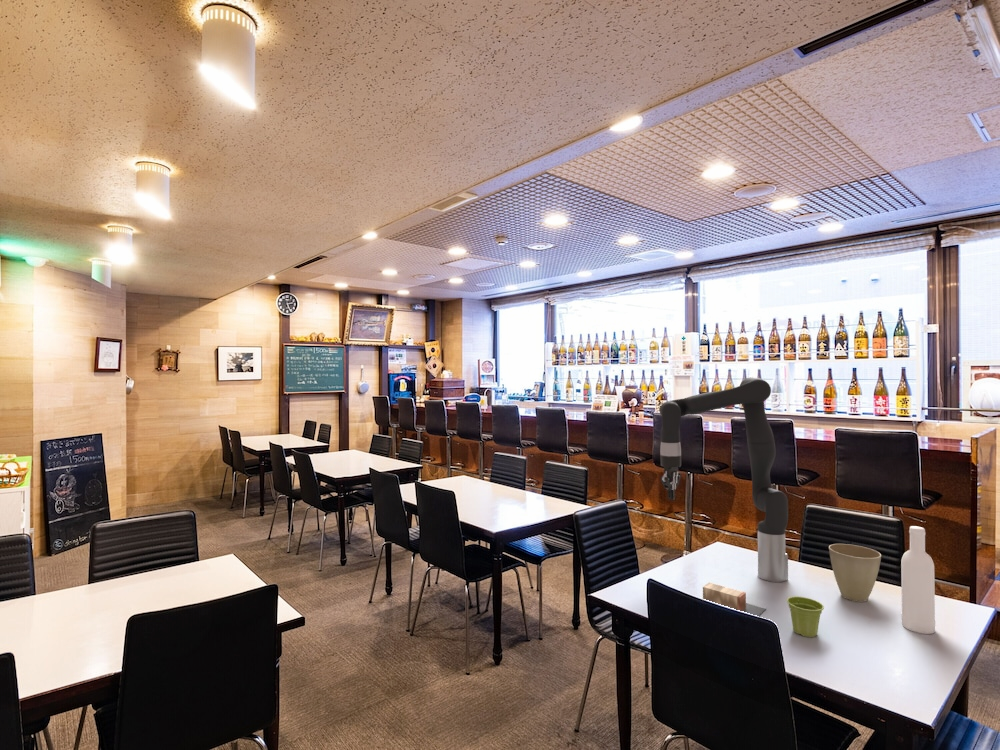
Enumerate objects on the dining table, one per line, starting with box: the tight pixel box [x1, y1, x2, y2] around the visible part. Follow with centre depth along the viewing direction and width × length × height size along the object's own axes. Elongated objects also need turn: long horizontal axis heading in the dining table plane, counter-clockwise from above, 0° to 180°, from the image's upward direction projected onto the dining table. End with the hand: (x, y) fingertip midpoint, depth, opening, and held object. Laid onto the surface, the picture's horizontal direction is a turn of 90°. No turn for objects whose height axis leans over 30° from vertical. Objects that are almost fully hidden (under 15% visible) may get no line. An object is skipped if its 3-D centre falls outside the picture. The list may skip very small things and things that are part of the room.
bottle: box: [900, 525, 936, 635], centre depth 157 cm, size 8×8×30 cm
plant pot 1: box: [786, 596, 825, 638], centre depth 155 cm, size 9×9×9 cm
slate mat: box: [743, 602, 767, 617], centre depth 171 cm, size 16×13×1 cm
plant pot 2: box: [828, 543, 882, 603], centre depth 179 cm, size 15×15×16 cm
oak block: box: [702, 582, 747, 611], centre depth 173 cm, size 5×5×12 cm
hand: (671, 499), depth 201 cm, fingers closed
